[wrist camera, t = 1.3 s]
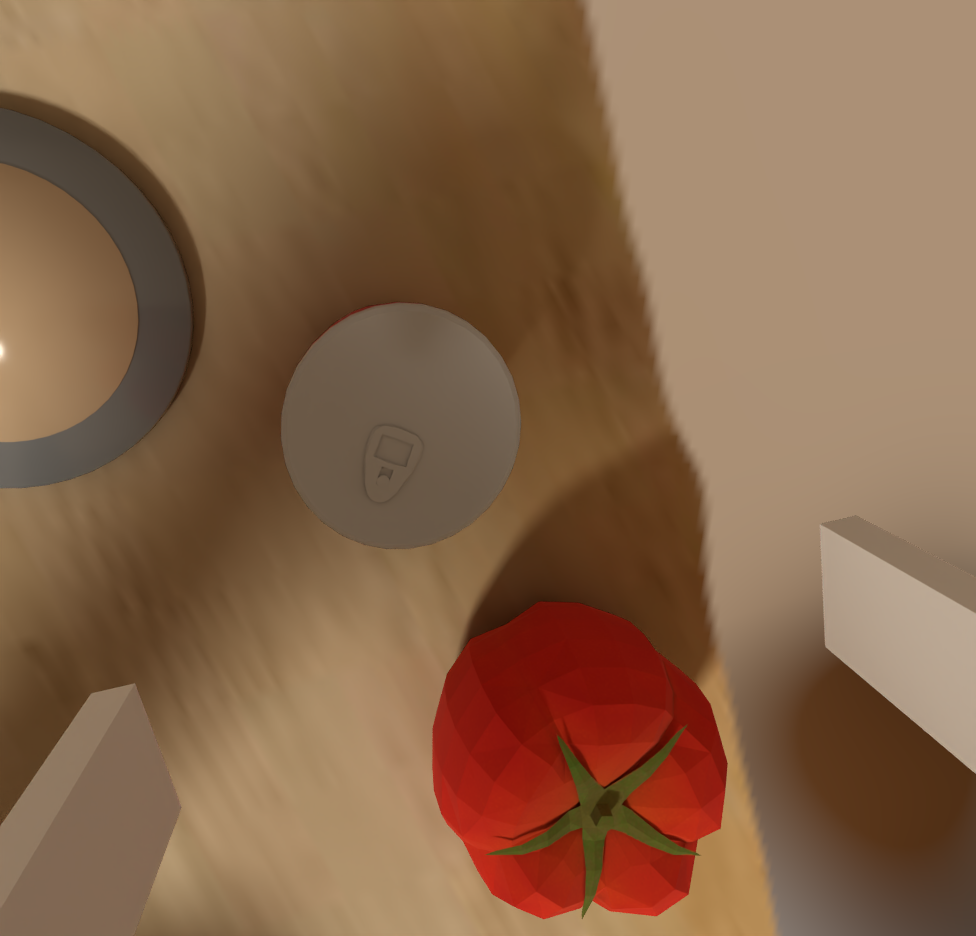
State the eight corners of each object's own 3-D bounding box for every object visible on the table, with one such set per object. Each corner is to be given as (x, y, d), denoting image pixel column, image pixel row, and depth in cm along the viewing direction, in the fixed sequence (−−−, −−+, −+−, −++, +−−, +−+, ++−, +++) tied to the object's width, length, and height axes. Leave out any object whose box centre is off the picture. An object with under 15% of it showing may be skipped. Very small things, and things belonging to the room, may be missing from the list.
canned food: (298, 471, 33) (274, 549, 22) (305, 294, 31) (283, 289, 21) (461, 478, 34) (510, 555, 24) (476, 311, 33) (536, 314, 22)
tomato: (374, 654, 36) (383, 791, 26) (604, 531, 36) (700, 617, 26) (489, 846, 39) (537, 1032, 29) (695, 731, 40) (810, 873, 30)
